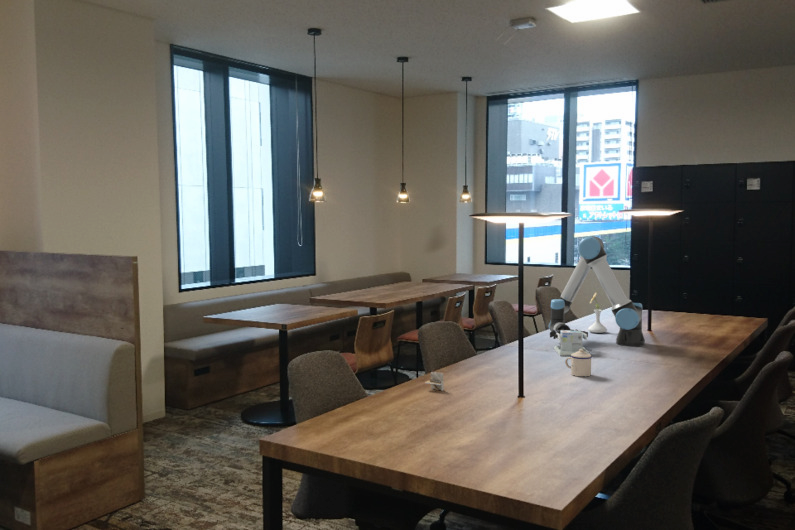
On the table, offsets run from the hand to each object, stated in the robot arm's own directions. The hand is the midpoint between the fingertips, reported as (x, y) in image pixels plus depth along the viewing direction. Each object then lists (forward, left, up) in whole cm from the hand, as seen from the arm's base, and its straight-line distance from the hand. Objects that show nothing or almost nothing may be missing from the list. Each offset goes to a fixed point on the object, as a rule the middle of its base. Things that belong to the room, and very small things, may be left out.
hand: (573, 337), depth 351 cm
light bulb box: (0, -3, -8) cm, 9 cm away
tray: (0, -3, -9) cm, 9 cm away
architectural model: (+70, +75, -9) cm, 103 cm away
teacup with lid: (+7, +46, -9) cm, 47 cm away
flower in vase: (-27, -65, -9) cm, 71 cm away
